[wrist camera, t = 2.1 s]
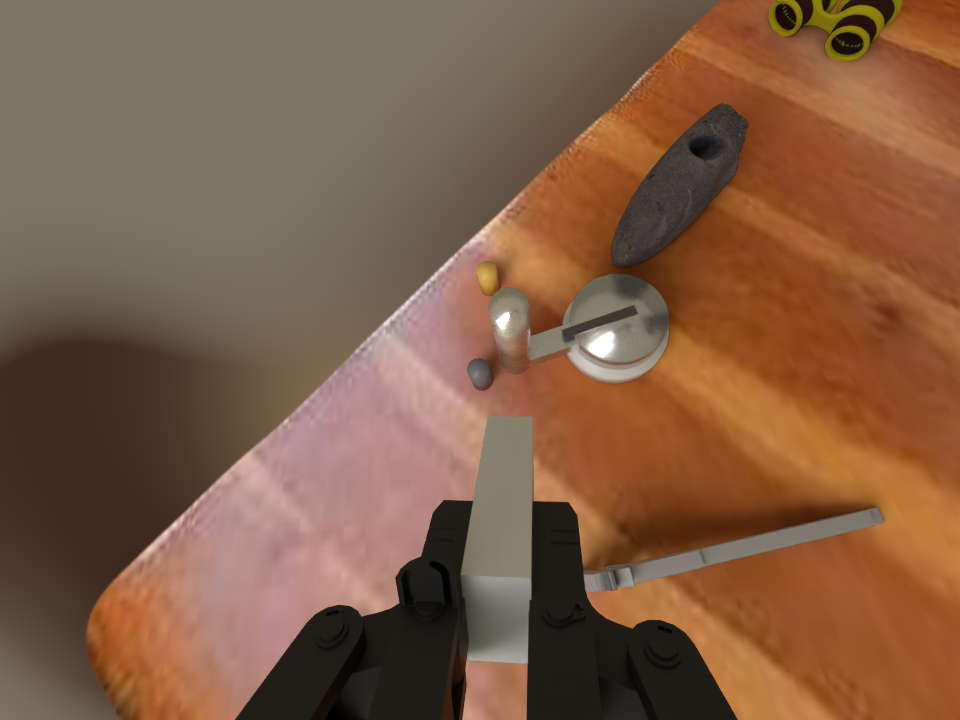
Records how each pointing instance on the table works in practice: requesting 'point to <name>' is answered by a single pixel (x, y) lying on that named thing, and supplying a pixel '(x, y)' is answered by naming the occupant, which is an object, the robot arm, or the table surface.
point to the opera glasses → (836, 22)
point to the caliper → (726, 551)
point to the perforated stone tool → (680, 186)
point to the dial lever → (584, 325)
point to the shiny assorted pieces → (483, 377)
